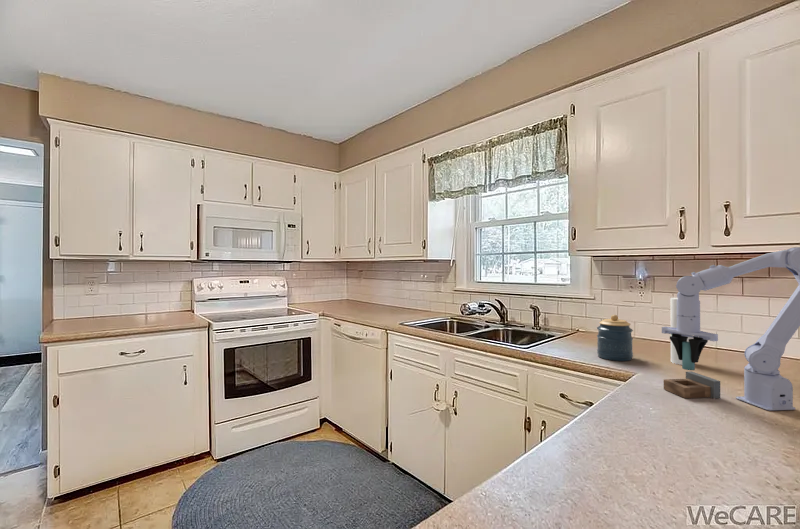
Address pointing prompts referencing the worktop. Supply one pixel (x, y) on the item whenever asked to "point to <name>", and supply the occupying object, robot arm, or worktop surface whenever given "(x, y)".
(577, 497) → the worktop surface
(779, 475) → the worktop surface
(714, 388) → the board
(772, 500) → the worktop surface
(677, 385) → the brown square frame
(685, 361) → the dowel
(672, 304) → the cylindrical container
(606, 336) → the canister
